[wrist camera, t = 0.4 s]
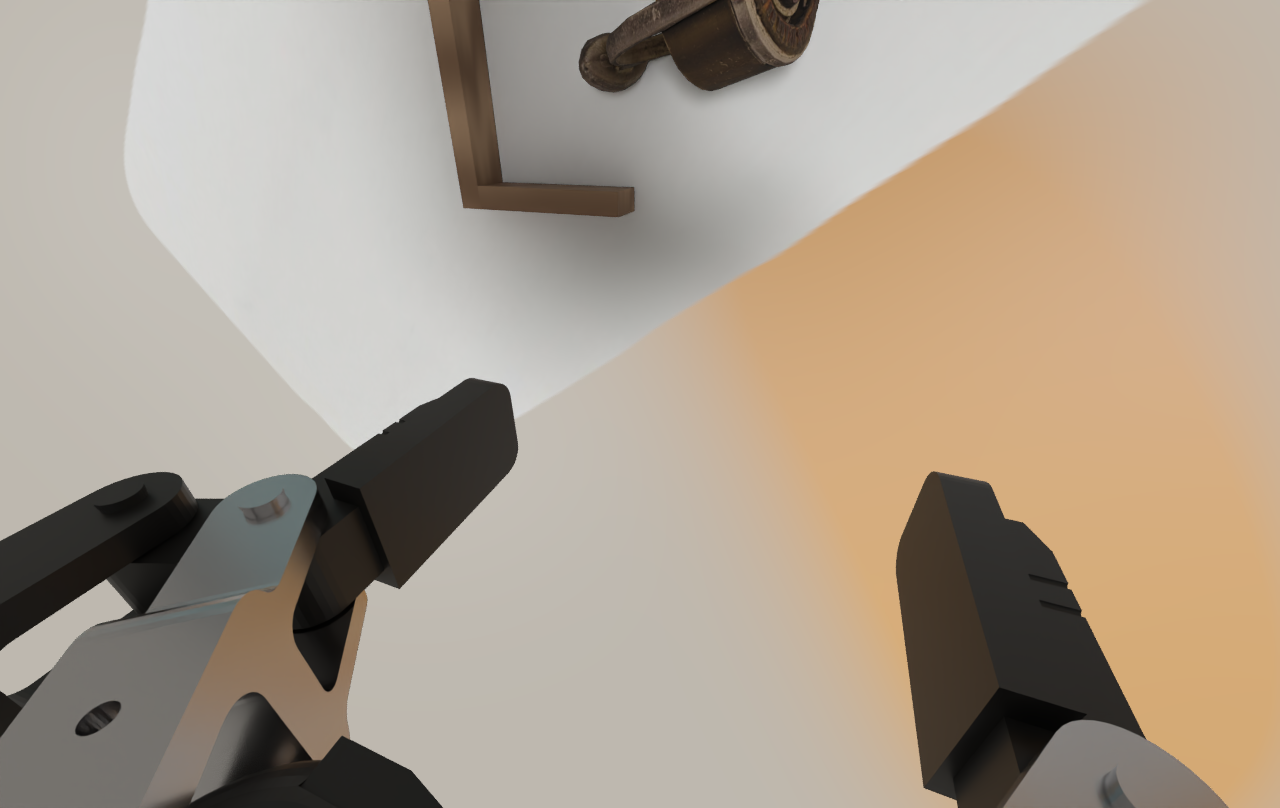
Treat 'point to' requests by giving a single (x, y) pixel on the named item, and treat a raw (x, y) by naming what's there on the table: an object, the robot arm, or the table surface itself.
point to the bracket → (477, 134)
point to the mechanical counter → (701, 41)
